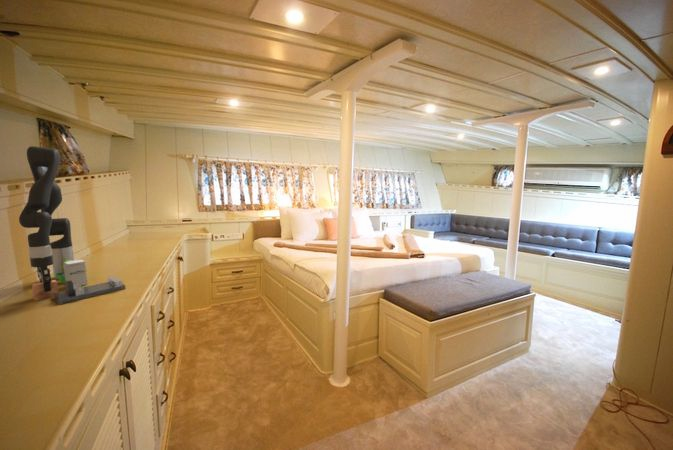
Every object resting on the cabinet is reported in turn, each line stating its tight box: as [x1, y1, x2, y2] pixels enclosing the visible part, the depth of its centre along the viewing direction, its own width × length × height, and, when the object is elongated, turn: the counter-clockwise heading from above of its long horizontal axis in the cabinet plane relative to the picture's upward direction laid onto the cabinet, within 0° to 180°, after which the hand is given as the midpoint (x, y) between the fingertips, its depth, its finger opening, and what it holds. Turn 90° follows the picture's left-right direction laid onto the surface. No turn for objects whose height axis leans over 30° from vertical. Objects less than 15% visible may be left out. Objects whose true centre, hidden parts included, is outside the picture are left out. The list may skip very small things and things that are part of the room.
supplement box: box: [63, 259, 88, 287], centre depth 156 cm, size 7×7×13 cm
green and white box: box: [56, 260, 88, 285], centre depth 163 cm, size 11×9×11 cm
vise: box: [53, 275, 126, 305], centre depth 146 cm, size 12×25×4 cm, turn 141°
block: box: [31, 279, 59, 301], centre depth 141 cm, size 8×4×7 cm, turn 141°
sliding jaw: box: [64, 281, 84, 296], centre depth 141 cm, size 12×5×5 cm, turn 51°
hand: (46, 289), depth 141 cm, fingers open, 8 cm apart
